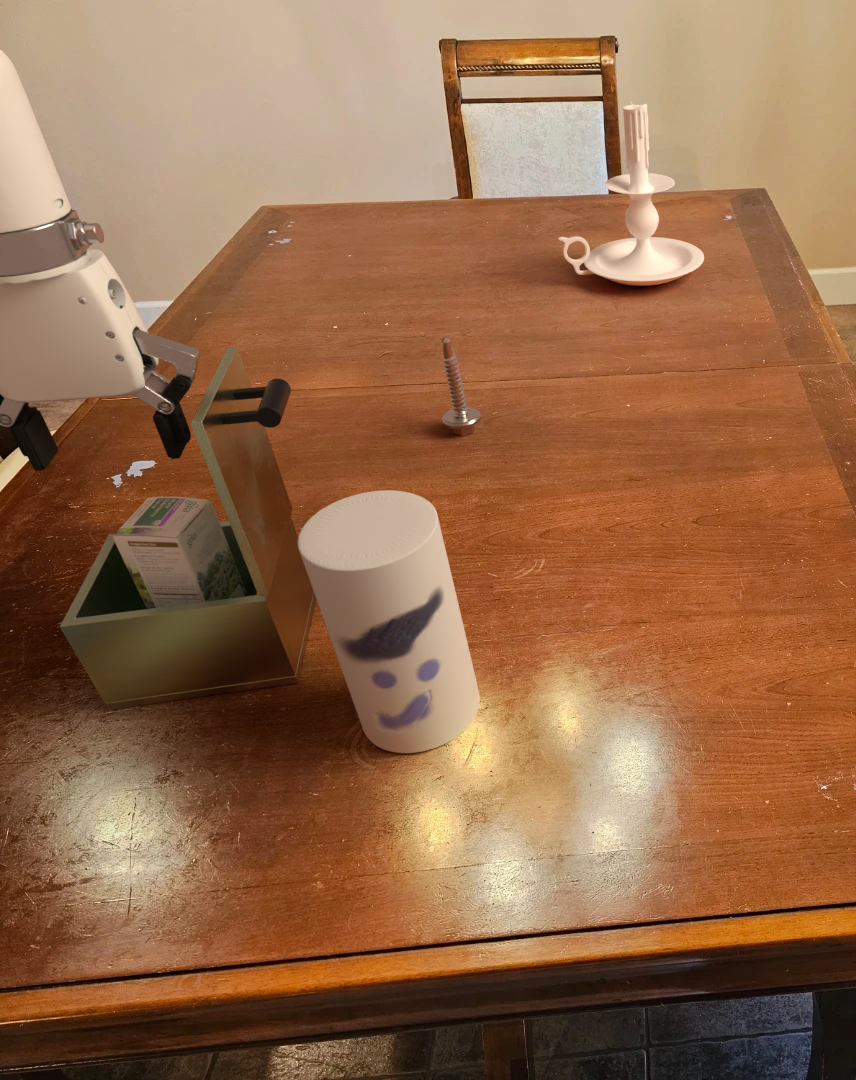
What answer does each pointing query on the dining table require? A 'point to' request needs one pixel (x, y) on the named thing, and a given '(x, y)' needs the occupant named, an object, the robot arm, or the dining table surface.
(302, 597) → the bin
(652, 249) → the candlestick
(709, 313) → the dining table surface
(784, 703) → the dining table surface
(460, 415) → the screw
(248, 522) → the lid
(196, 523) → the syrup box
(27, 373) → the robot arm
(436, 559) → the container
